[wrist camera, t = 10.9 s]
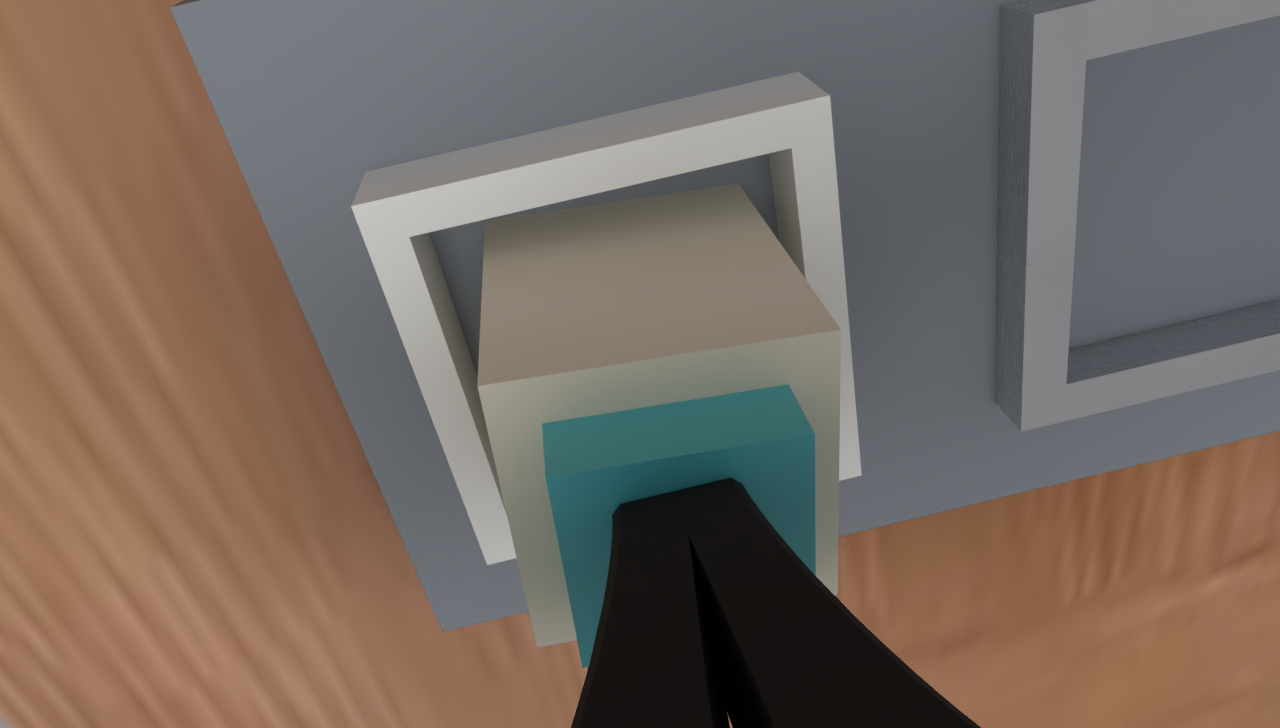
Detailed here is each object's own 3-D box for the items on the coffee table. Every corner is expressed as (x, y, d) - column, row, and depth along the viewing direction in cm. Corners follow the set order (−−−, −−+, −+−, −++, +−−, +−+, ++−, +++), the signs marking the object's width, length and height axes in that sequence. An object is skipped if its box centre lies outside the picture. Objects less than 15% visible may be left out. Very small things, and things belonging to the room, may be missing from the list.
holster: (1465, -104, 13) (1531, -101, 13) (1360, 315, 17) (1406, 339, 16) (999, 4, 13) (1033, 15, 12) (995, 402, 17) (1020, 431, 16)
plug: (738, 183, 14) (873, 374, 9) (748, 396, 16) (863, 653, 11) (485, 220, 14) (474, 438, 9) (527, 431, 16) (539, 711, 11)
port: (798, 71, 13) (829, 95, 12) (834, 427, 17) (861, 475, 16) (365, 171, 13) (351, 206, 12) (488, 509, 17) (487, 564, 15)
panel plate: (1539, -310, 13) (1613, -322, 12) (1361, 376, 19) (1401, 401, 18) (192, -5, 13) (169, 7, 12) (445, 596, 19) (442, 631, 18)
